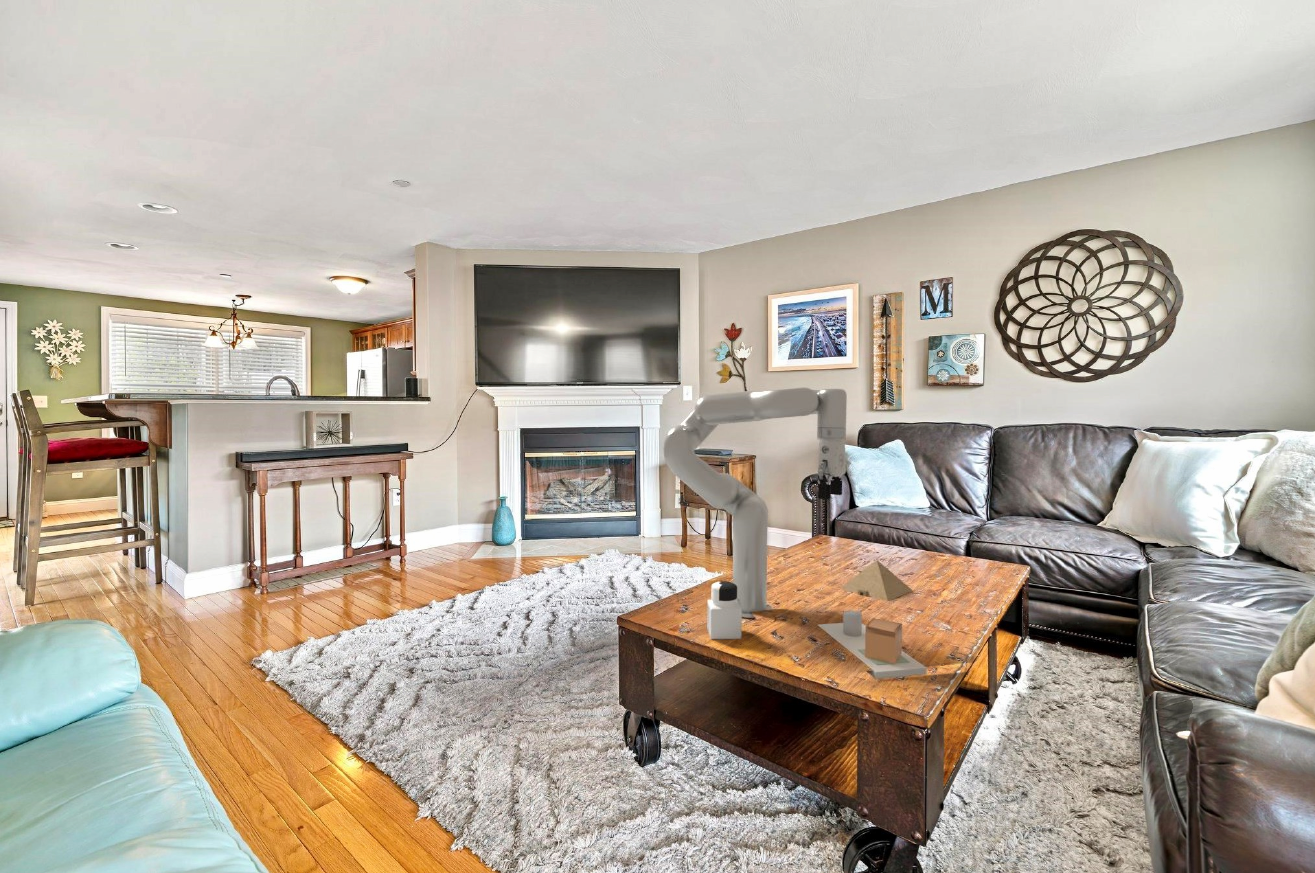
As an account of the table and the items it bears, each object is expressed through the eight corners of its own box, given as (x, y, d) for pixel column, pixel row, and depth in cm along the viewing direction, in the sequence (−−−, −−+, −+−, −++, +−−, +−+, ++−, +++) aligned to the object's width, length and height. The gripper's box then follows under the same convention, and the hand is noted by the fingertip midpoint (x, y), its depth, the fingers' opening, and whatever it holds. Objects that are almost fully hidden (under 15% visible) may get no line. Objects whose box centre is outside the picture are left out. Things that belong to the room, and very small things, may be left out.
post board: (875, 678, 127) (876, 648, 126) (817, 630, 154) (817, 605, 154) (926, 674, 129) (927, 645, 128) (859, 627, 156) (860, 602, 156)
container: (736, 627, 156) (736, 578, 155) (741, 639, 148) (742, 587, 147) (707, 628, 155) (707, 579, 155) (710, 639, 148) (711, 588, 147)
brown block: (894, 663, 130) (895, 632, 130) (864, 656, 134) (865, 626, 133) (901, 653, 135) (902, 623, 135) (872, 647, 139) (873, 618, 138)
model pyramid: (837, 590, 189) (837, 559, 189) (865, 580, 201) (866, 550, 200) (887, 603, 177) (887, 570, 176) (914, 591, 188) (914, 560, 188)
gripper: (834, 435, 152) (833, 502, 153) (854, 433, 167) (853, 494, 168) (806, 435, 157) (805, 499, 158) (828, 432, 171) (827, 492, 172)
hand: (830, 496), depth 163 cm, fingers open, 9 cm apart
